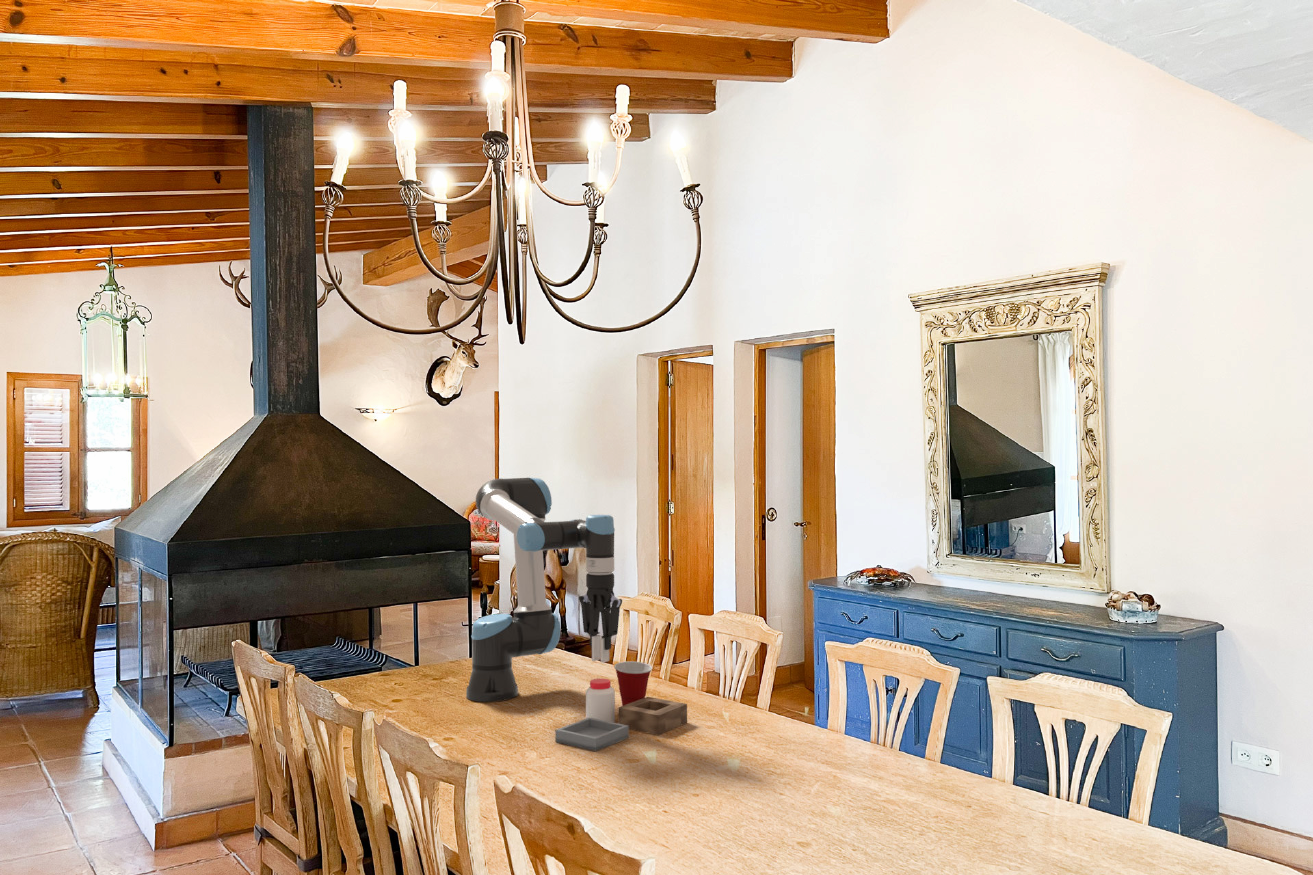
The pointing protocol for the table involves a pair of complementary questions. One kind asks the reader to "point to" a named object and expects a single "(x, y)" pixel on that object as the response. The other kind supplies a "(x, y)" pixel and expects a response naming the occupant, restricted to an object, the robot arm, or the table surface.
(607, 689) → the pill bottle
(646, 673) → the plastic cup
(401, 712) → the table surface
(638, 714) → the cinder block
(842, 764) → the table surface
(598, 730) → the tray
